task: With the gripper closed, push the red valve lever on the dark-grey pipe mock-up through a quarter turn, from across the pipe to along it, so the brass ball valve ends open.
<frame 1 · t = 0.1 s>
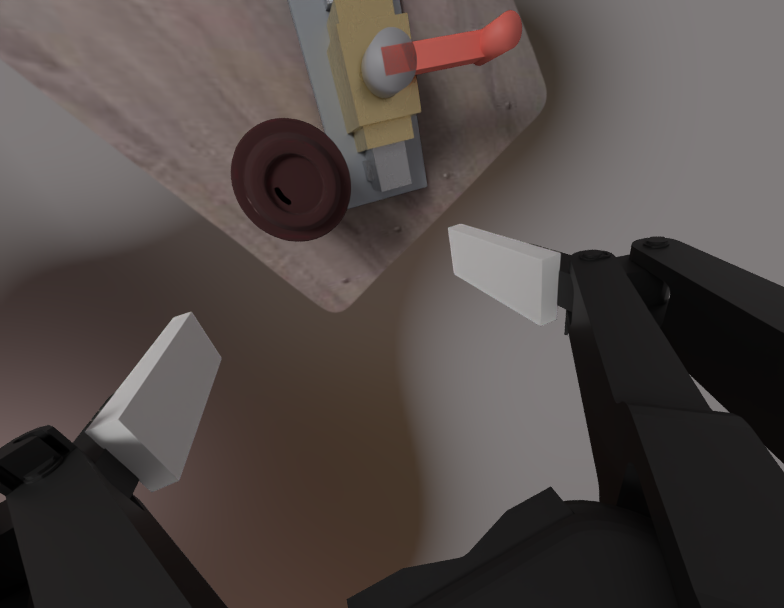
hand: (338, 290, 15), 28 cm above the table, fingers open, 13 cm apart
lever: (438, 52, 27), point 11 cm above the table, hinge at 0.0°
mount board: (363, 91, 35), on the table
coffee cup: (292, 180, 37), on the table
pipe valve: (373, 81, 31), on the mount board, point 4 cm above the table
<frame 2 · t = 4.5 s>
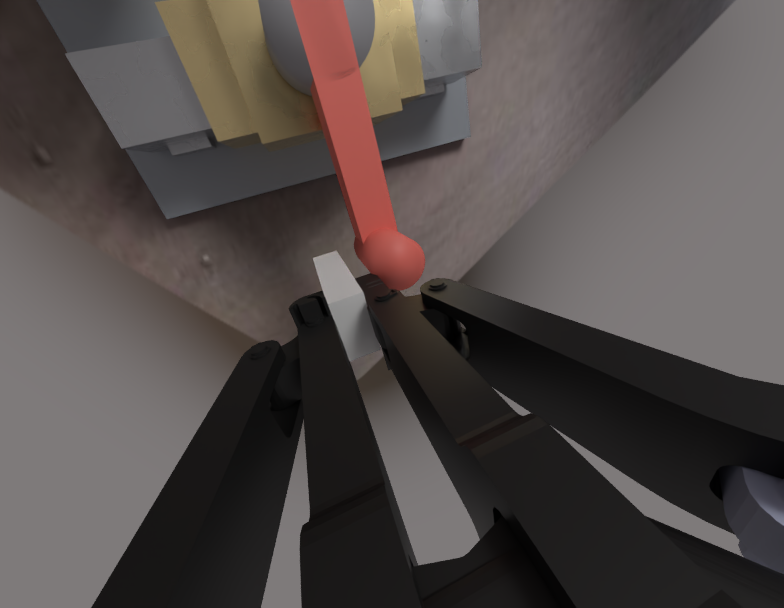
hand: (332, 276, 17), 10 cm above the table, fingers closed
lever: (353, 142, 14), point 11 cm above the table, hinge at 0.8°, touching gripper
mount board: (305, 86, 21), on the table
pipe valve: (308, 67, 17), on the mount board, point 4 cm above the table
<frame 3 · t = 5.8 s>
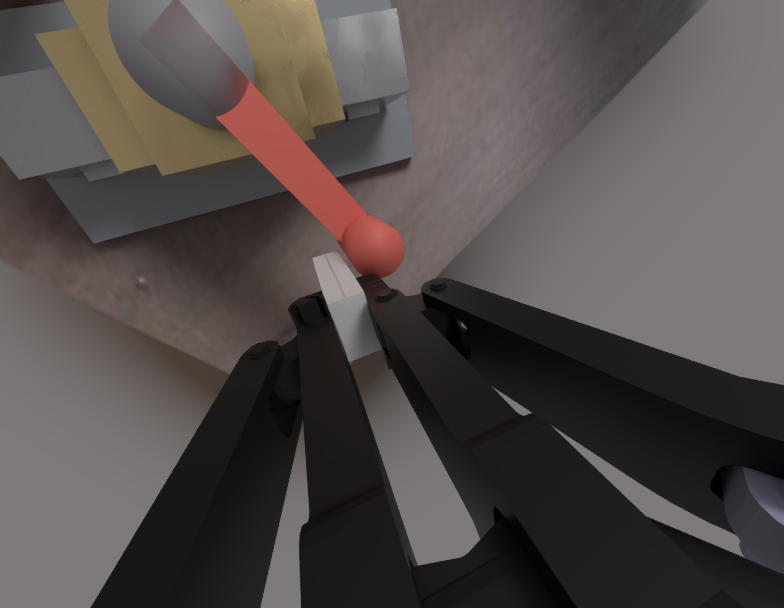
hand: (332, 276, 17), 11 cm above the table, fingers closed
lever: (284, 154, 13), point 11 cm above the table, hinge at 27.4°, touching gripper
mount board: (235, 107, 21), on the table
pipe valve: (222, 93, 17), on the mount board, point 4 cm above the table
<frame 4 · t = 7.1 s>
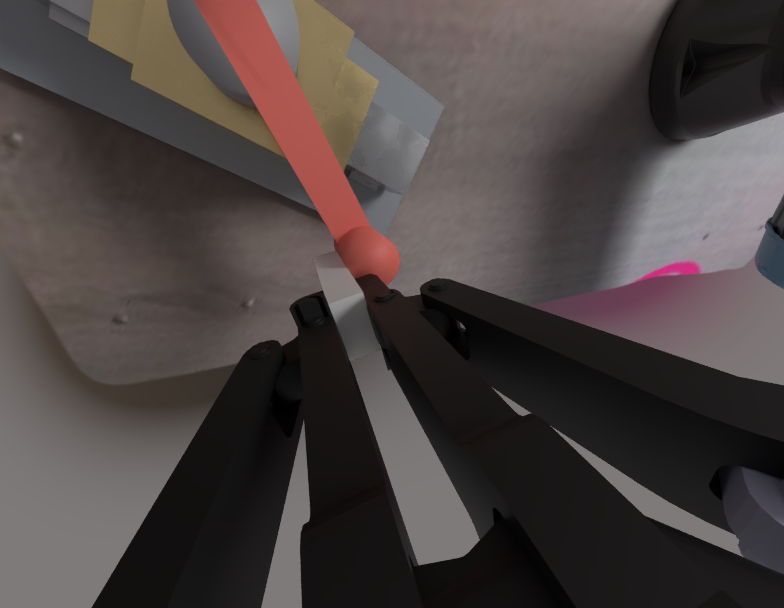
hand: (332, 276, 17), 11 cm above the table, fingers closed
lever: (306, 148, 13), point 11 cm above the table, hinge at 52.7°, touching gripper
mount board: (263, 92, 21), on the table
pipe valve: (257, 74, 17), on the mount board, point 4 cm above the table
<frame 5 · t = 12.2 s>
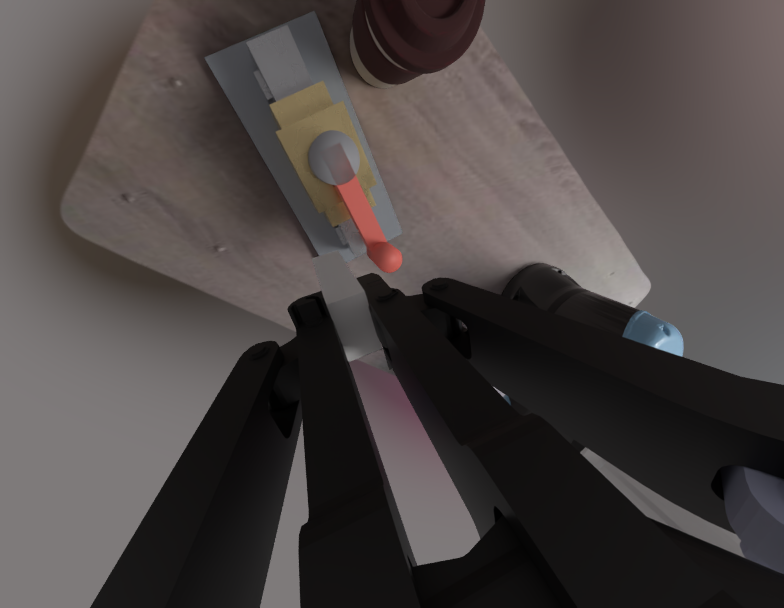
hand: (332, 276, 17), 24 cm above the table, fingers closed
lever: (358, 205, 28), point 11 cm above the table, hinge at 91.9°
mount board: (321, 162, 36), on the table
coffee cup: (379, 51, 33), on the table
pipe valve: (326, 161, 32), on the mount board, point 4 cm above the table
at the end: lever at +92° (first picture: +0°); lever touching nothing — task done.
